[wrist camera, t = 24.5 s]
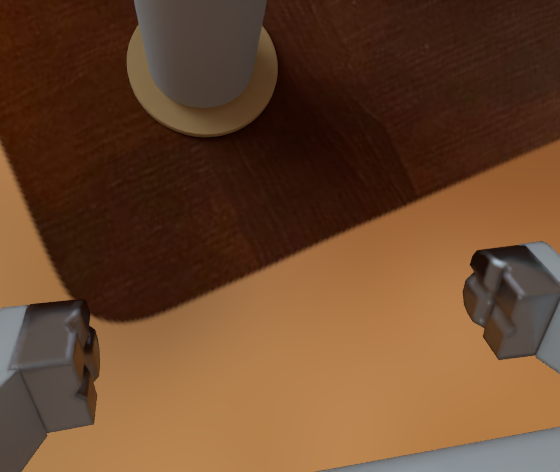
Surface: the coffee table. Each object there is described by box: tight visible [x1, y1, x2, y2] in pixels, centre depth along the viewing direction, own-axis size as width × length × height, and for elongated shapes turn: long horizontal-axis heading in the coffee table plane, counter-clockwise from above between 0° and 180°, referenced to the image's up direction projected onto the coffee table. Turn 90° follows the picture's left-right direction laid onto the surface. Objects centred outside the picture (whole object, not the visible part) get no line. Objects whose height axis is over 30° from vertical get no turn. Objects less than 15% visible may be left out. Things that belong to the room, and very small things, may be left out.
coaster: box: [127, 25, 278, 137], centre depth 25 cm, size 7×7×1 cm
